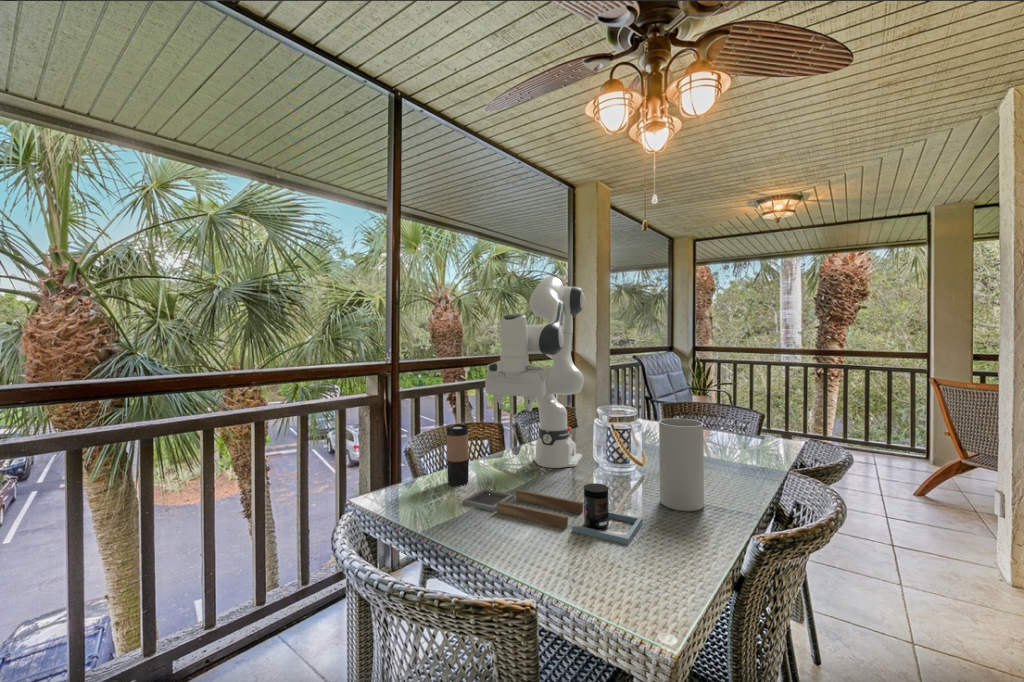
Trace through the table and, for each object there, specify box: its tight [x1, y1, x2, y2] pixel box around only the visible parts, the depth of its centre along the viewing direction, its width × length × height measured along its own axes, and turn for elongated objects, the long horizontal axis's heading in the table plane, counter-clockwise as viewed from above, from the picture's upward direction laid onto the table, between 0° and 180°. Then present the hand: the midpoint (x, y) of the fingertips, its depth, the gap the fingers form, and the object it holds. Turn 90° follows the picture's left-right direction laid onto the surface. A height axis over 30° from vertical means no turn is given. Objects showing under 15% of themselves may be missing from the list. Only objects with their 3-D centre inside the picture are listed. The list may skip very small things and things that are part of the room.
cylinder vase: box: [658, 417, 705, 513], centre depth 132 cm, size 12×12×25 cm
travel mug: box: [446, 424, 470, 487], centre depth 154 cm, size 8×8×20 cm
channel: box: [496, 489, 584, 530], centre depth 128 cm, size 12×22×3 cm, turn 59°
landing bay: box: [571, 510, 644, 546], centre depth 117 cm, size 14×15×2 cm
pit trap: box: [462, 488, 515, 512], centre depth 137 cm, size 12×12×1 cm
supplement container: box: [583, 482, 610, 531], centre depth 119 cm, size 7×7×10 cm
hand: (515, 410), depth 136 cm, fingers open, 8 cm apart
